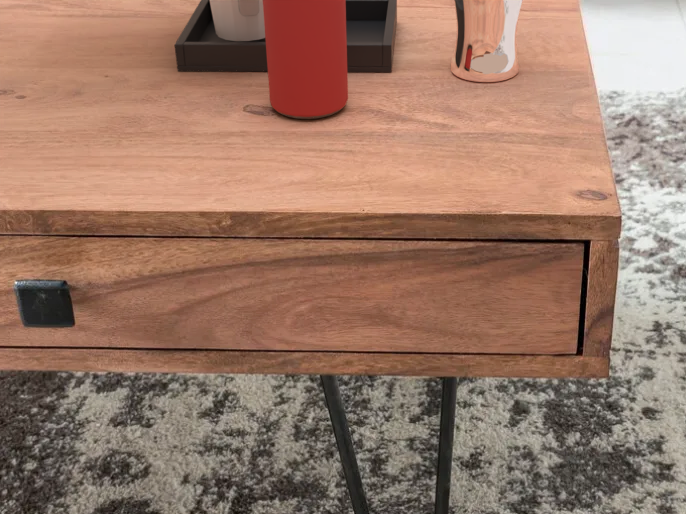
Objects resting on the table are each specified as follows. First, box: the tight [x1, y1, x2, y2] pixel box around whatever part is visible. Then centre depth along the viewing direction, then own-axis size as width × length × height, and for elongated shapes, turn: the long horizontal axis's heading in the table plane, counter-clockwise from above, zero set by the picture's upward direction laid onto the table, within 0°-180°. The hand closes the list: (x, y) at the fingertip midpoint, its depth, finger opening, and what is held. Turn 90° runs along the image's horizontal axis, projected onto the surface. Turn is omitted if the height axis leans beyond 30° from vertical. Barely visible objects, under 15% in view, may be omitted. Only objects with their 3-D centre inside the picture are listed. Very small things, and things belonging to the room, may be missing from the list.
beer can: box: [263, 0, 349, 120], centre depth 85 cm, size 7×7×12 cm
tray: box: [174, 0, 398, 73], centre depth 100 cm, size 20×14×2 cm
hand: (242, 3), depth 99 cm, fingers closed on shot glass, 5 cm apart
